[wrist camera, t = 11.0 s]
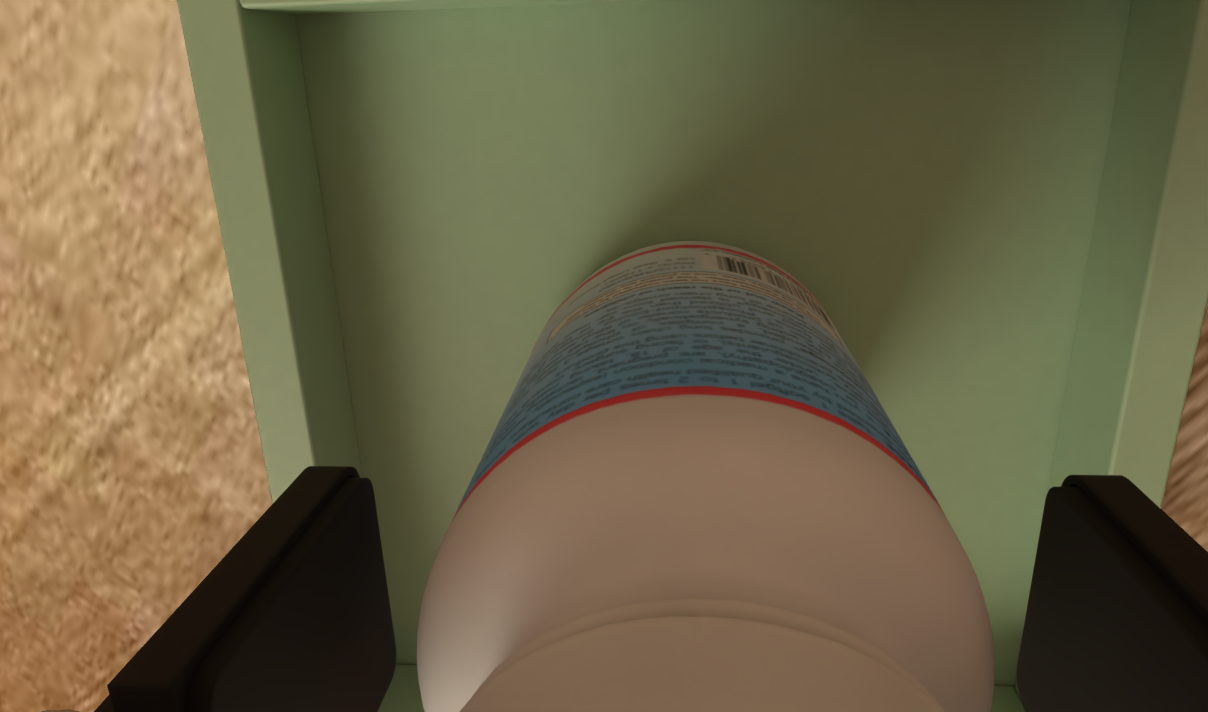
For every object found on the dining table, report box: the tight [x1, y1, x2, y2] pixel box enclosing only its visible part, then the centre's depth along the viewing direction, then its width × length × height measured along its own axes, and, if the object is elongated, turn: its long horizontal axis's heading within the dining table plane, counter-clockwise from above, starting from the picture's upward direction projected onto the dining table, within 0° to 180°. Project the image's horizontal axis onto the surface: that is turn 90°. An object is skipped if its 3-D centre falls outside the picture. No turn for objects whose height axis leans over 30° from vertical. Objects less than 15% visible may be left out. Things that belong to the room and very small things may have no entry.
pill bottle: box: [417, 241, 995, 712], centre depth 11 cm, size 6×6×11 cm
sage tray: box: [177, 0, 1208, 712], centre depth 15 cm, size 16×16×2 cm
